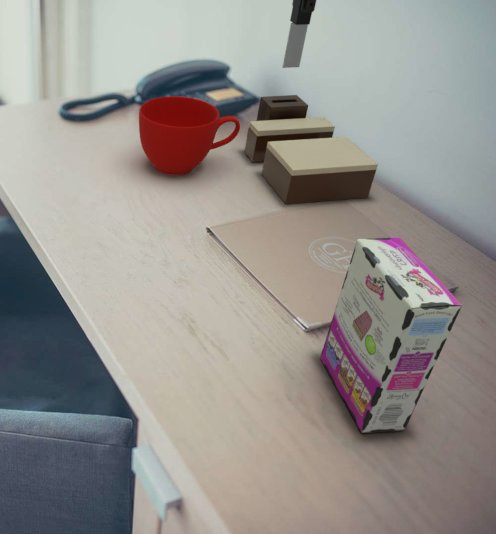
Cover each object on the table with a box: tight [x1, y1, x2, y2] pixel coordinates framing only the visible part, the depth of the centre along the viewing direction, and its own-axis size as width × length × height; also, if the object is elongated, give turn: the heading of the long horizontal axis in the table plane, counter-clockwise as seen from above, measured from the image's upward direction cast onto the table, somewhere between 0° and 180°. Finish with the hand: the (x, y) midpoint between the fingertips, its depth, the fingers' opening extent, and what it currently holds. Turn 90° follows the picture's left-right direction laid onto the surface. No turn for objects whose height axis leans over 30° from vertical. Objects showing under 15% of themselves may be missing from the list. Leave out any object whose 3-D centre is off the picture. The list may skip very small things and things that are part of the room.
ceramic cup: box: [138, 95, 241, 176], centre depth 107 cm, size 13×17×10 cm
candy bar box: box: [319, 236, 463, 434], centre depth 64 cm, size 11×5×16 cm, turn 6°
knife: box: [282, 0, 313, 69], centre depth 107 cm, size 3×2×14 cm
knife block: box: [256, 94, 309, 121], centre depth 117 cm, size 7×5×8 cm
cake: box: [261, 136, 379, 205], centre depth 104 cm, size 14×10×6 cm
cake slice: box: [244, 116, 336, 163], centre depth 112 cm, size 14×4×6 cm, turn 100°
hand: (302, 9), depth 106 cm, fingers closed on knife, 2 cm apart
